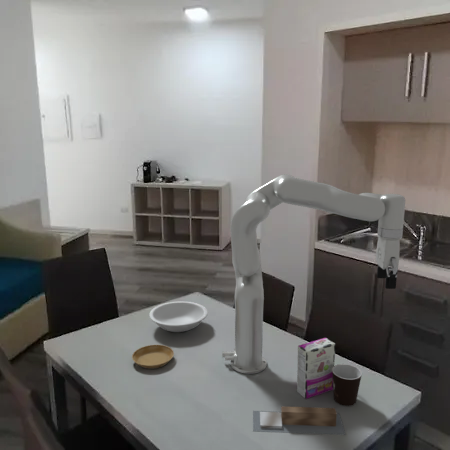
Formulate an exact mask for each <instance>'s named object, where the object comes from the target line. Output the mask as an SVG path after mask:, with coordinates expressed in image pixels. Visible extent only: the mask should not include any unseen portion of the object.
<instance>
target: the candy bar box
mask: <svg viewBox="0 0 450 450" xmlns="http://www.w3.org/2000/svg"><path fill="white" fill-rule="evenodd" d="M335 353H336V343H335V342H333V341H332V340H330V339H329V338H327V337H323V338H319V339H317V340H312V341H310V342H306V343H302V344H299V345H297V371H296V372H297V374H296V375H297V380H296V381H297V382H296V386H297V387H296V392H297V393H298V394H299V395H300V396H302V397H303V398H304V399H305V400H307V399H309V398H310V399H311V398H313V397H315V396H319V395H321V394H324V393H327V392H331V391H334V389H333V375H332V368H333V367H334V366H335V360H336V359H335V357H336V354H335Z"/></svg>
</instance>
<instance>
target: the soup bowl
mask: <svg viewBox="0 0 450 450" xmlns="http://www.w3.org/2000/svg"><path fill="white" fill-rule="evenodd" d="M208 314H209V312H208V309H207V308H206V307H205V305H202V304H200V303H197V302H193V301H182V300H181V301H180V300H179V301H177V300H176V301H170V302H165V303H161V304H159V305H156V306H154V308H151V310H150V312H149V316H148V317H149V319H150V321H152V322H153V323H155V324H156V325H157V326H158V327H159V328H161V329H162V330H164V331H167V332H172V333H182V332H188V331H191V330H192V329H195V328H196V327H197V326H198V325H200V324H201V323H202V321H203V320H205V319H206V318H207V316H208Z"/></svg>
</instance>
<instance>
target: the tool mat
mask: <svg viewBox="0 0 450 450" xmlns="http://www.w3.org/2000/svg"><path fill="white" fill-rule="evenodd" d="M260 412H278V411H274V410H273V411H272V410H271V411H270V410H252V432H261V433H289V434H314V435H316V434H317V435H320V434H321V435H341V436H342V435H343V436H344V435H347V434H346V432H345V429H344V425H343V422H342V419H341V415H340V413H337V417H336V426H309V425H282V429H278V428H260Z"/></svg>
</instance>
